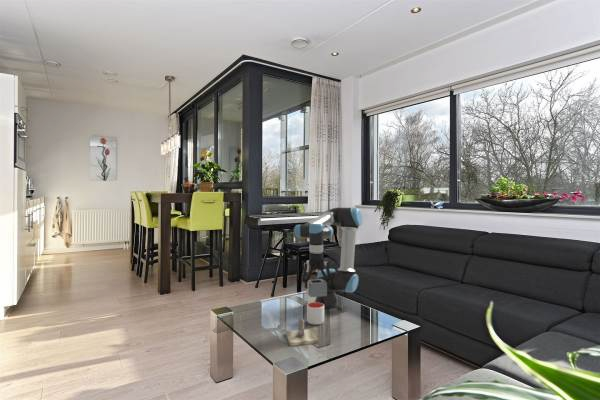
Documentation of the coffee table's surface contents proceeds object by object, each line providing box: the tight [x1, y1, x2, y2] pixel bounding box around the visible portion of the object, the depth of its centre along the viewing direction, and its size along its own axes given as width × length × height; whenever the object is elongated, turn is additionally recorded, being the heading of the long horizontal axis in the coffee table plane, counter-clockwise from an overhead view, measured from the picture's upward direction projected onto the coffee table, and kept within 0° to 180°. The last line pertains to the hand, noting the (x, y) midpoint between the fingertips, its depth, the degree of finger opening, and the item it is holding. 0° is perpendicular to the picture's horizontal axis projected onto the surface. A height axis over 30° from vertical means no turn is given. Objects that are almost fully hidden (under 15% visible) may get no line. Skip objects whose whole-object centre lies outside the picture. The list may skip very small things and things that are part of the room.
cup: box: [306, 301, 325, 326], centre depth 203 cm, size 10×10×10 cm
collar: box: [308, 278, 327, 298], centre depth 191 cm, size 9×9×7 cm
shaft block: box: [284, 318, 319, 347], centre depth 181 cm, size 14×14×10 cm
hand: (316, 293), depth 192 cm, fingers closed on collar, 9 cm apart
